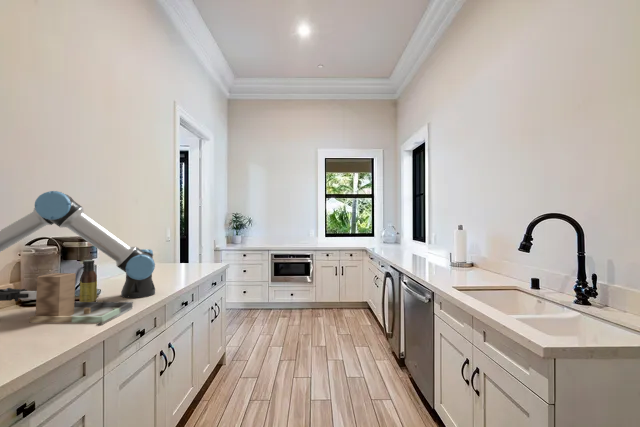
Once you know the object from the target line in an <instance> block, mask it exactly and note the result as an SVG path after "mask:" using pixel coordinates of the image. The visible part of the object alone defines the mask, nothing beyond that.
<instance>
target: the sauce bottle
mask: <svg viewBox="0 0 640 427" xmlns="http://www.w3.org/2000/svg"><path fill="white" fill-rule="evenodd" d="M82 262H83V263H82V264H83V270H82V274H81V275H80V278H79V301H78V302H97V300H98V298H97V297H98V296H97V295H98V293H97V292H98V290H97V289H98V279H97V278H98V275H97V273H96V271H95V268H94V267H95V259H86V260H82Z"/></svg>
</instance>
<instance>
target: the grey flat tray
mask: <svg viewBox="0 0 640 427" xmlns="http://www.w3.org/2000/svg"><path fill="white" fill-rule="evenodd" d="M115 309H119V314H117V315H115V316H113V317H112V318H110V319H108V320H106V321H104V316H102V315H104V314H106V313H108V312H111V311H113V310H115ZM131 310H133V302H132V301H96V302H79V301H74V314H73V315H71V316H36V315H31V316H29V323H32V324H33V323H37V324H38V323H42V324H43V323H45V324H46V323H50V324H51V323H52V324H54V323H67V324H69V323H70V324H71V323H73V324H75V323H77V324H78V323H80V324H81V323H83V324H85V323H87V324H89V323H91V324H95V323H96V326H103V325H105V324H107V323H109V322H111V321H112V320H115V319H117V318H119V317H120V316H122V315H124V314H126V313H128V312H130V311H131Z"/></svg>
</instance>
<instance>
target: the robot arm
mask: <svg viewBox="0 0 640 427" xmlns="http://www.w3.org/2000/svg"><path fill="white" fill-rule="evenodd" d="M52 225H56V226H57V227H59V228H67V229H69V230H71V232H73V233H74V234H76V235H78V237H81V238H82V239H83V240H85V241H86V242H87V243H89V244H91V245H92V246H93V247H94V248H96V249H97V250H99V251H101V253H104V254H105V255H106V256H107V257H109V258H110V259H112V260H113V261H115V264H116V267H117V268H119V269H120V270H121V271H123V272H124V273H125V281H124V284H123V286H122V288H121V292H120V297H122V298H126V299H136V298H137V299H138V298H145V297H151V296H153V295H156V288H155V287H156V286H155V284H154V282H153V273H154V270H155V268H156V264H155V260H154V259H153V256H154V252H153V250H152V249H151V248H149V249H147V248H145V249H144V248H143V249H140V248H139V247H137V246H130V245H129V244H128V243H126V242H125V241H123V240H122V239H121V238H119V237H118V236H116V235H115V234H114V233H113V232H111V231H109V230H108V229H107V228H106V227H104V226H102V225H101V224H100V223H99V222H97V221H96V220H95V219H93V218H92V217H90V216H89V215H88V214H87V213H85V211H84V207H83V206H82V205H80V204H79V203H78V202H76V201H75V200H74V199H73V198H72V197H71V196H70V195H68V194H66V193H64V192H62V191H58V190H49V191H46V192H43V193H41V194H40V195H39V196H37V198H36V199H35V202H34V208H33V211H32V212H30V213H29V214H27V215H25V216H23V217H21V218H20V219H18V220H16V221H14V222H13V223H11V224H9V225H7V226H5V227H4V228H1V229H0V230H1V231H0V253H2V252H3V251H5V250H7V249H8V248H10V247H12V246H13V245H15V244H16V243H18V242H21V241H22V240H24V239H25V238H27V237H29V236H31V235H32V234H33V233H36V232H37V231H39V230H40V229H43V228H44V227H46V226H52ZM1 251H2V252H1ZM36 295H37V290H28V289H26V288H11V287H7V288H0V302H3V301H4V302H7V301H10V302H11V301H12V300H14V302H18V301H19V300H36Z"/></svg>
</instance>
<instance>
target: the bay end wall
mask: <svg viewBox="0 0 640 427" xmlns="http://www.w3.org/2000/svg"><path fill="white" fill-rule="evenodd" d="M117 314H119V309H115V310H113V311H111V312H108V313H106V314H104V315H102V316H104V321H106V320H108V319H110V318H112V317H113V316H115V315H117Z"/></svg>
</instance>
